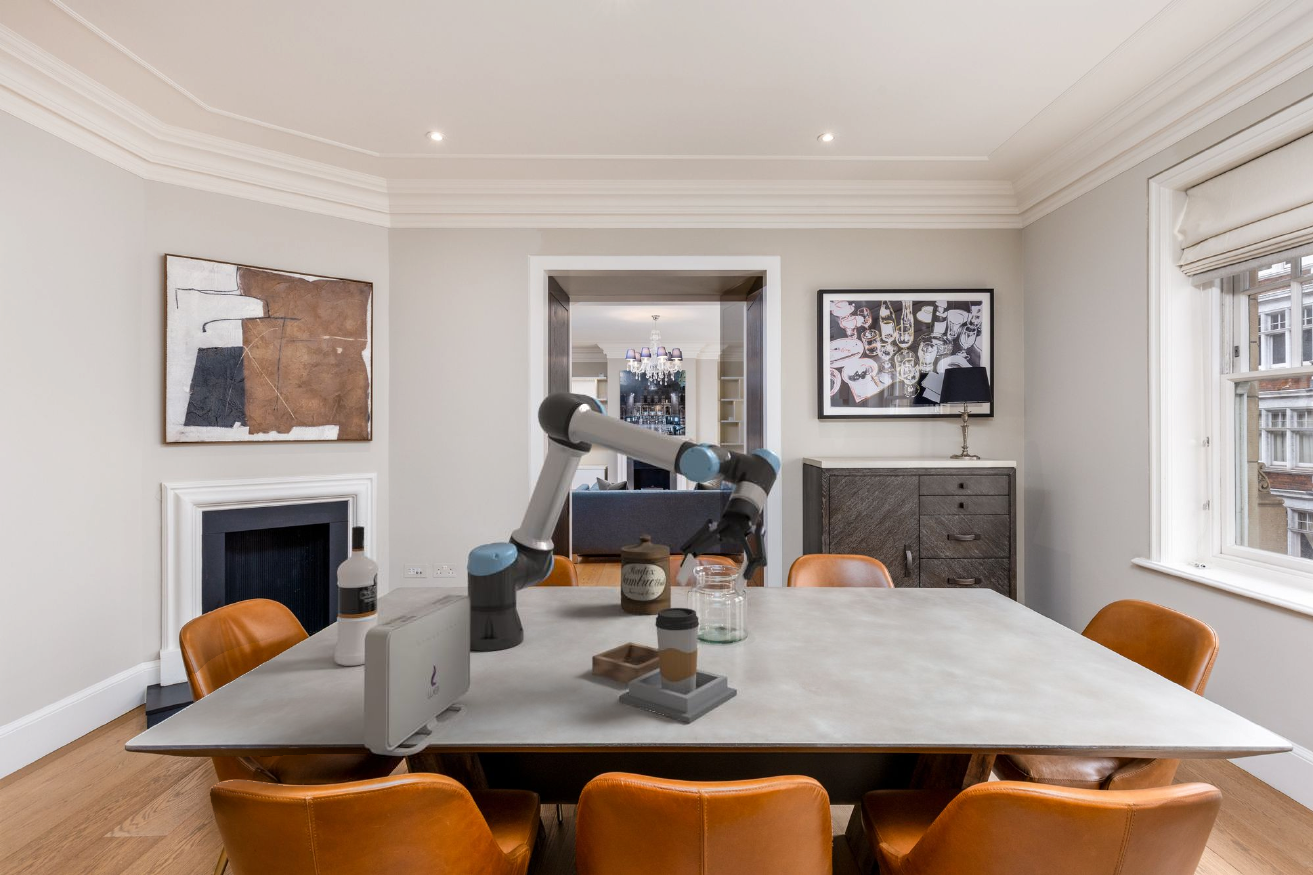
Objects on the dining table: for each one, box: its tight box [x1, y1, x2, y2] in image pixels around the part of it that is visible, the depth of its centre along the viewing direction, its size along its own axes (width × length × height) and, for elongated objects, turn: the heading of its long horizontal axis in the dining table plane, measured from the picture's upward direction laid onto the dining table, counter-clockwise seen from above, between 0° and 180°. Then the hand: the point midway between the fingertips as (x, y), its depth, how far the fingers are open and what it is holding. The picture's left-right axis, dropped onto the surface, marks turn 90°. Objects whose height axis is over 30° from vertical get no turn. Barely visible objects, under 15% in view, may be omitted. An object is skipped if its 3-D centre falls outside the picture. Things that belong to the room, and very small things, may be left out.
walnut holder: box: [591, 641, 660, 685], centre depth 135 cm, size 12×12×4 cm
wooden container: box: [620, 533, 672, 616], centre depth 188 cm, size 15×15×22 cm
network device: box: [363, 594, 471, 757], centre depth 107 cm, size 26×9×20 cm, turn 168°
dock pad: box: [618, 668, 738, 724], centre depth 120 cm, size 16×16×4 cm
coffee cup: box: [654, 607, 700, 695], centre depth 120 cm, size 8×8×15 cm
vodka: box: [333, 525, 379, 667], centre depth 142 cm, size 9×9×30 cm
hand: (707, 587), depth 128 cm, fingers open, 13 cm apart
